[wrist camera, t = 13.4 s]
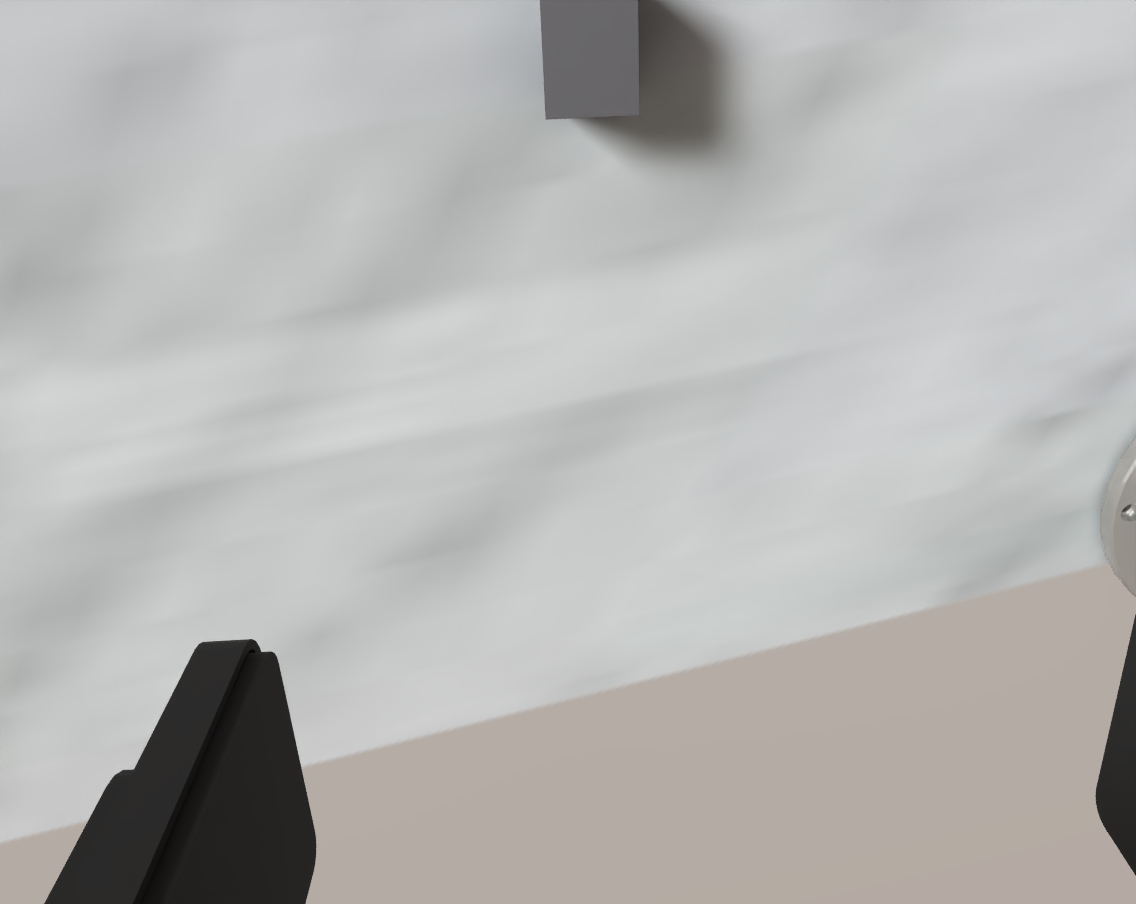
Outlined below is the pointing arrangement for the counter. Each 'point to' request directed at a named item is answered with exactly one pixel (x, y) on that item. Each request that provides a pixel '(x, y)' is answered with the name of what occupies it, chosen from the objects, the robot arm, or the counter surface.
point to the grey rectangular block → (590, 58)
